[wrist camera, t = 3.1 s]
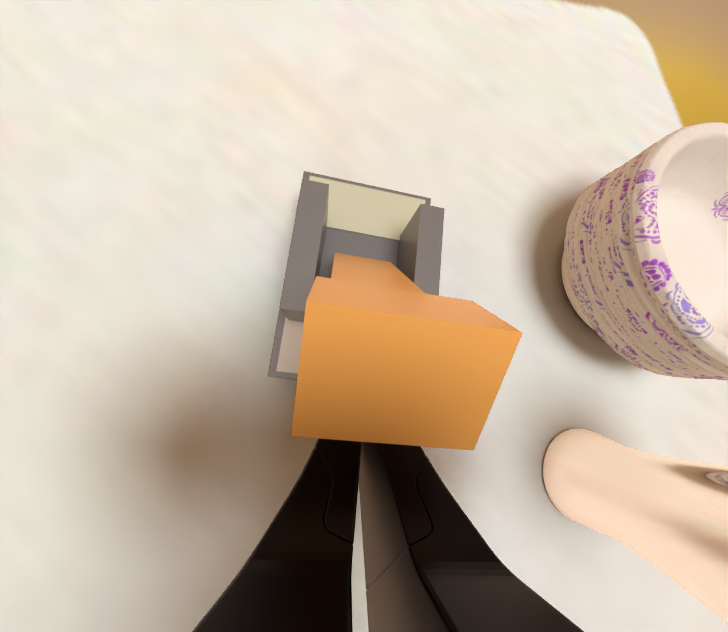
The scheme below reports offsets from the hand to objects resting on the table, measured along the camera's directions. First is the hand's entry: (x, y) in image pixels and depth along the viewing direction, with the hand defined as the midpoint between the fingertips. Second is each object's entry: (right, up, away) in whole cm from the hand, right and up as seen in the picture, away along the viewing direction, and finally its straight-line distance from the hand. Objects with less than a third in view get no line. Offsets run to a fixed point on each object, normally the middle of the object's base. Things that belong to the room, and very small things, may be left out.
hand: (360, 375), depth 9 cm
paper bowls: (+21, +5, +13) cm, 25 cm away
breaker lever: (0, +5, +5) cm, 7 cm away
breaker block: (-1, +4, +9) cm, 10 cm away
